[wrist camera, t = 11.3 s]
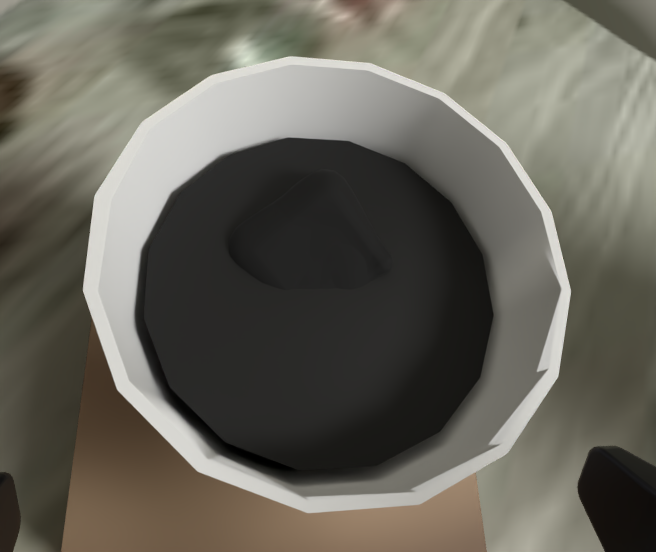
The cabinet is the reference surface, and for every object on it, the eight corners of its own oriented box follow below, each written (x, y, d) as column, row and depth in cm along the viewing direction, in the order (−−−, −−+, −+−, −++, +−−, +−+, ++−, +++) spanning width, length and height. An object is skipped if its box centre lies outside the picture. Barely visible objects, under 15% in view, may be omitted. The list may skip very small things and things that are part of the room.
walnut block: (439, 555, 19) (489, 575, 15) (93, 582, 17) (53, 613, 13) (407, 257, 23) (439, 215, 19) (129, 249, 21) (107, 201, 17)
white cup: (131, 351, 16) (-17, 173, 6) (305, 246, 18) (378, 2, 9) (253, 543, 14) (287, 664, 5) (424, 402, 17) (658, 308, 7)
